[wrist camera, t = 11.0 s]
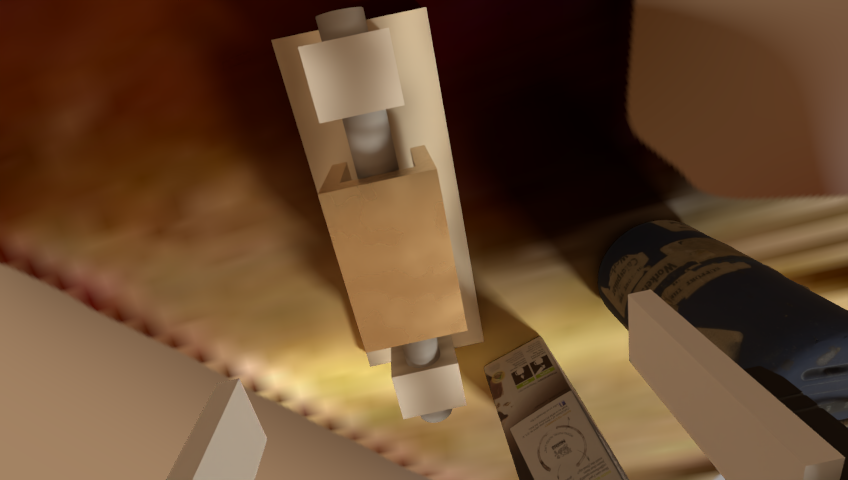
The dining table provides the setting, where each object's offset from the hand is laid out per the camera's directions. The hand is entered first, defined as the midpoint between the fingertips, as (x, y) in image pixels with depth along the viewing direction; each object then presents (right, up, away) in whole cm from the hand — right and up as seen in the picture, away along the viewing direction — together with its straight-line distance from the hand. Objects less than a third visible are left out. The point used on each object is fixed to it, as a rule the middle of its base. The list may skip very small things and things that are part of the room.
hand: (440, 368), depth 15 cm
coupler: (-3, +5, +16) cm, 17 cm away
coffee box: (+10, -9, +27) cm, 30 cm away
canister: (+19, +2, +23) cm, 30 cm away
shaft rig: (-3, +7, +19) cm, 21 cm away
